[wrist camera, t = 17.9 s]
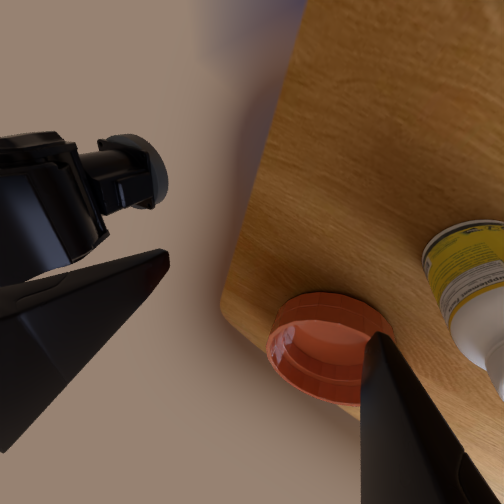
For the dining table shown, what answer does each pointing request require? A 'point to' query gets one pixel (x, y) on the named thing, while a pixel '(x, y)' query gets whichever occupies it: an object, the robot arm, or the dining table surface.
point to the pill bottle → (471, 290)
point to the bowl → (324, 344)
